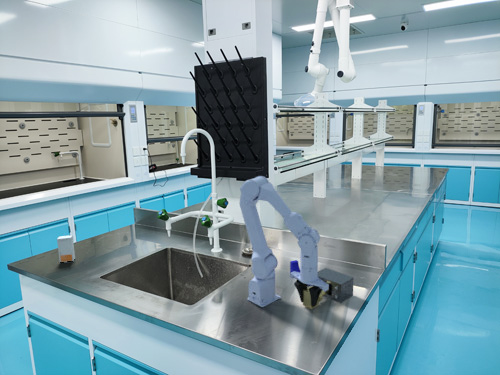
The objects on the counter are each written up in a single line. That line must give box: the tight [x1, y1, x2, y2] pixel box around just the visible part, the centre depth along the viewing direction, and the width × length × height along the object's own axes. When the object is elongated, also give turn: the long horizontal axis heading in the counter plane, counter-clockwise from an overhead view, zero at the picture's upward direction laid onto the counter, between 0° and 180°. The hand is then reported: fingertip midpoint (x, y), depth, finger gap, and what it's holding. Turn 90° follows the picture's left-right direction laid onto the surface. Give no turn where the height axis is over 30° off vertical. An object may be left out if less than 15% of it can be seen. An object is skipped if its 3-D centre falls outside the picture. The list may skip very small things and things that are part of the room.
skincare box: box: [56, 234, 76, 263], centre depth 164 cm, size 6×4×12 cm
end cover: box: [302, 285, 330, 310], centre depth 120 cm, size 10×6×6 cm, turn 133°
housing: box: [318, 267, 355, 304], centre depth 127 cm, size 9×12×7 cm
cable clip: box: [289, 260, 311, 287], centre depth 139 cm, size 12×4×6 cm, turn 23°
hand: (308, 303), depth 118 cm, fingers closed on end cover, 4 cm apart
